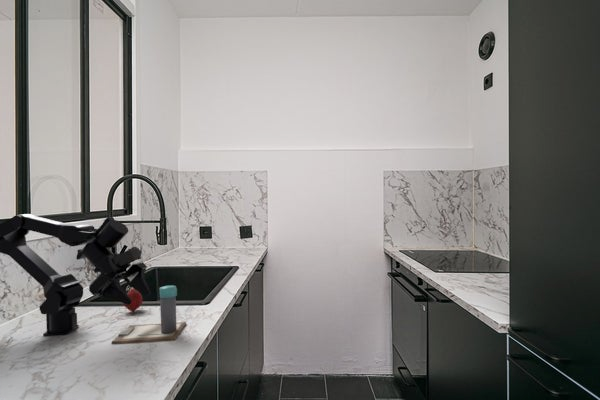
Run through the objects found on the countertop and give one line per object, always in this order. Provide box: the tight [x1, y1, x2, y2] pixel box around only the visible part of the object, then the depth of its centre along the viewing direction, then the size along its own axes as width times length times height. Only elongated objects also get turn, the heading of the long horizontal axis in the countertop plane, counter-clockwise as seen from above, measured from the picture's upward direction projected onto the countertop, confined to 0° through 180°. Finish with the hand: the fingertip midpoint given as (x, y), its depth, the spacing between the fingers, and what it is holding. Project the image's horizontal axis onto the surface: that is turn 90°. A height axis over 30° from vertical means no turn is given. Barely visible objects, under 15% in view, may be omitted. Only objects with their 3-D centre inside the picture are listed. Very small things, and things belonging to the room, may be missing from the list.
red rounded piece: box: [122, 287, 143, 312], centre depth 119 cm, size 6×6×8 cm
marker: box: [159, 285, 178, 334], centre depth 98 cm, size 4×4×12 cm
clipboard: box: [111, 321, 187, 345], centre depth 98 cm, size 16×12×1 cm
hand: (140, 298), depth 99 cm, fingers open, 9 cm apart
